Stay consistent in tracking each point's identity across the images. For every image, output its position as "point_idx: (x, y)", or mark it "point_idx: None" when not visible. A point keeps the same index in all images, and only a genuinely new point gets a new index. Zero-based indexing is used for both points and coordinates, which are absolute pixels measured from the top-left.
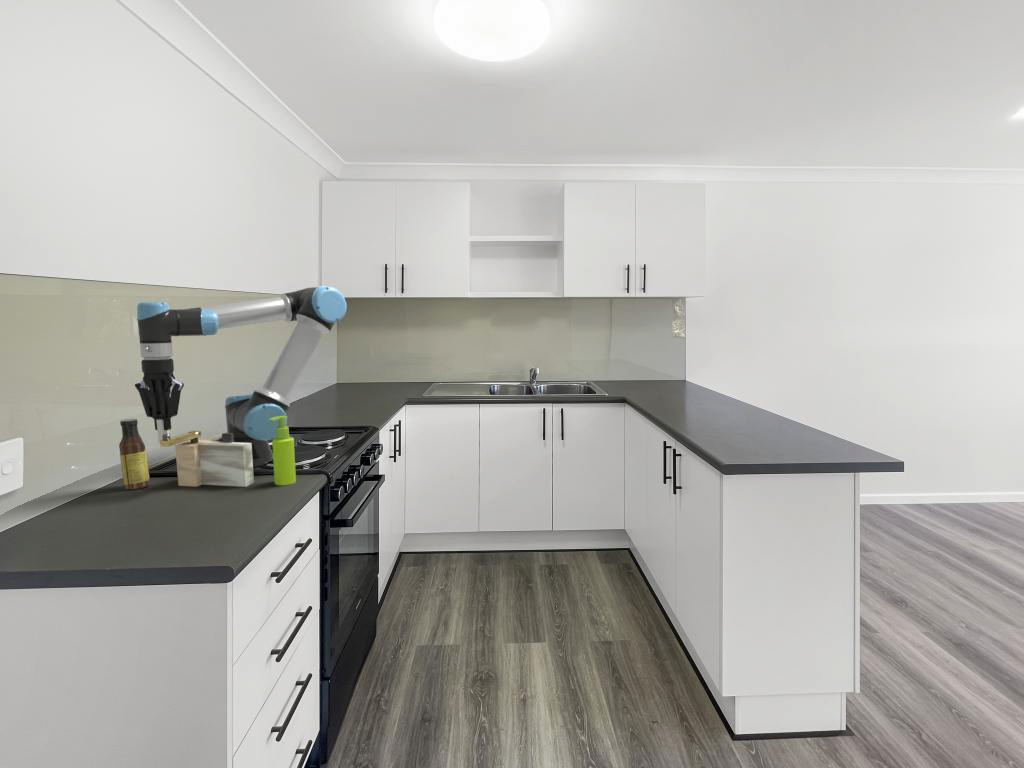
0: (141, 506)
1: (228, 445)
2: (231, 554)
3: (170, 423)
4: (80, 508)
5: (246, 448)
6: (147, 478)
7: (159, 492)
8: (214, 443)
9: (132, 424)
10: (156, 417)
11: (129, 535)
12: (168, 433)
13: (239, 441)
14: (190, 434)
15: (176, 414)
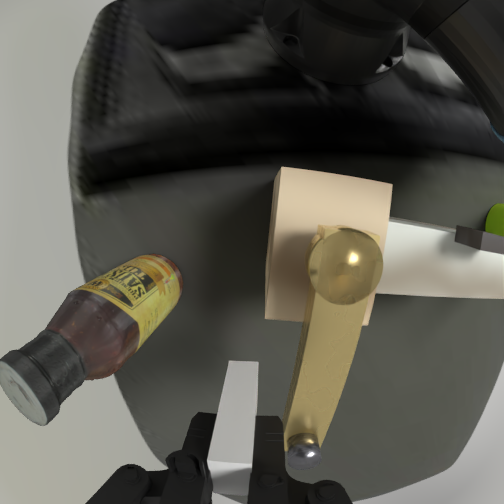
0: (276, 401)
1: (483, 295)
2: (450, 460)
3: (283, 447)
4: (162, 405)
5: None
6: (177, 287)
7: (250, 321)
8: (432, 265)
9: (59, 409)
10: (209, 502)
11: (335, 471)
12: (256, 392)
13: (372, 29)
14: (359, 330)
15: (339, 491)
